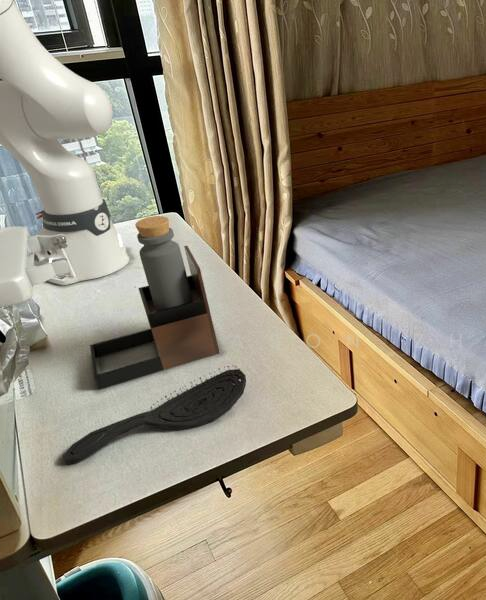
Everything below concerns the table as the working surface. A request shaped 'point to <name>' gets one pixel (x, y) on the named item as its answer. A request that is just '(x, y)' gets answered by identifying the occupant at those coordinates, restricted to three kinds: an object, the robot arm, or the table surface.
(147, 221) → the bottle
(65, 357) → the table surface
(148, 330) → the bottle rack
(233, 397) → the hairbrush
